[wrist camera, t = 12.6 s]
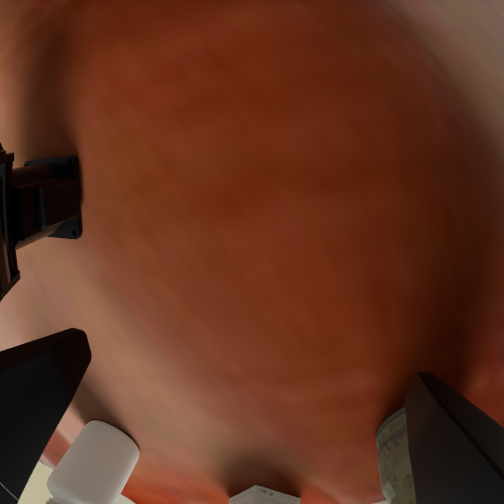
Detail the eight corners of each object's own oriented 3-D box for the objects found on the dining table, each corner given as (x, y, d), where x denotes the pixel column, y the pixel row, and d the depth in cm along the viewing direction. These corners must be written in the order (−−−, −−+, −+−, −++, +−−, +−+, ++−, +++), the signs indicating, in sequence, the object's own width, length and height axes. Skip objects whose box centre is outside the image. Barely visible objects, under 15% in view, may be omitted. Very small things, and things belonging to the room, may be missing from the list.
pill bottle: (85, 408, 29) (24, 493, 15) (143, 439, 29) (94, 537, 15) (88, 437, 32) (41, 511, 18) (139, 463, 32) (99, 546, 17)
